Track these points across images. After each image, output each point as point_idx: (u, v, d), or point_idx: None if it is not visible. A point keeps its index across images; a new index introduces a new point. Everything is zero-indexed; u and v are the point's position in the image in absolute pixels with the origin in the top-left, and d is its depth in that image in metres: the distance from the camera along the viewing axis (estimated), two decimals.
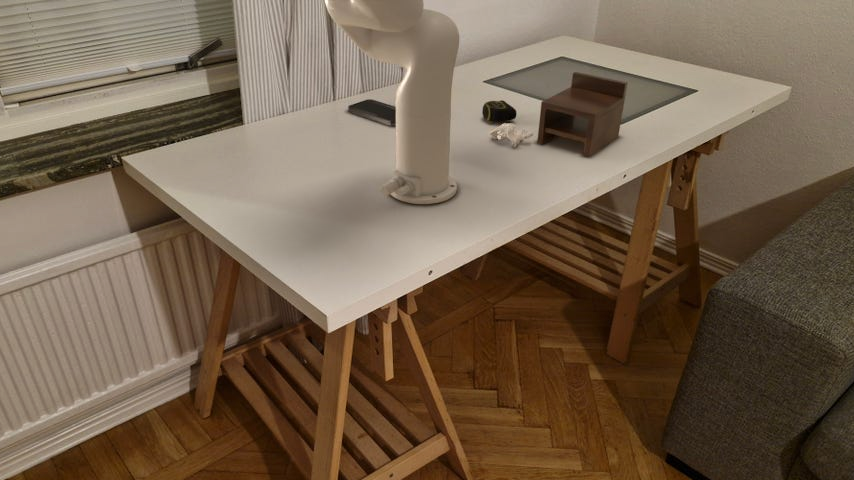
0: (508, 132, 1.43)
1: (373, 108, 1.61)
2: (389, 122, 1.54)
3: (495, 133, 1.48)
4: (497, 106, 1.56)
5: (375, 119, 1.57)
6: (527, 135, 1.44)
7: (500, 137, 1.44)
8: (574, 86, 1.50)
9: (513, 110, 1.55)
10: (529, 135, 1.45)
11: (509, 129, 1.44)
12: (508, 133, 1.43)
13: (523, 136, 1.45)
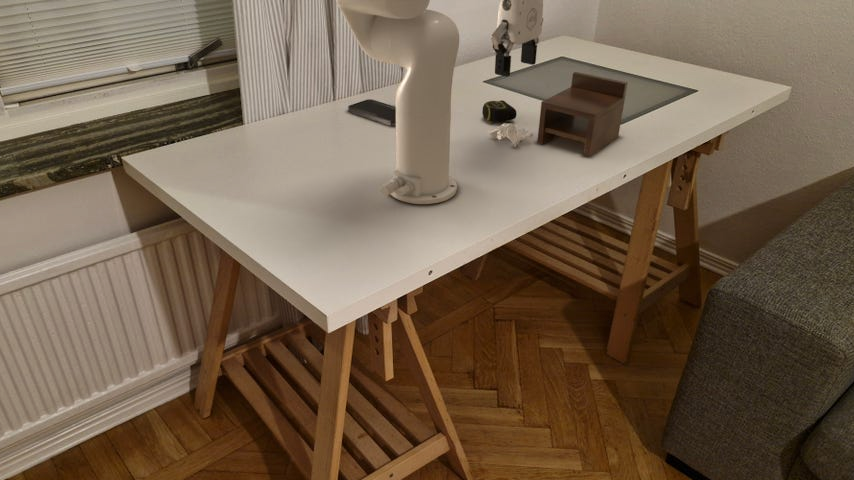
0: (508, 132, 1.43)
1: (373, 108, 1.61)
2: (389, 122, 1.54)
3: (495, 133, 1.48)
4: (497, 106, 1.56)
5: (375, 119, 1.57)
6: (527, 135, 1.44)
7: (500, 137, 1.44)
8: (574, 86, 1.50)
9: (513, 110, 1.55)
10: (529, 135, 1.45)
11: (509, 129, 1.44)
12: (508, 133, 1.43)
13: (523, 136, 1.45)
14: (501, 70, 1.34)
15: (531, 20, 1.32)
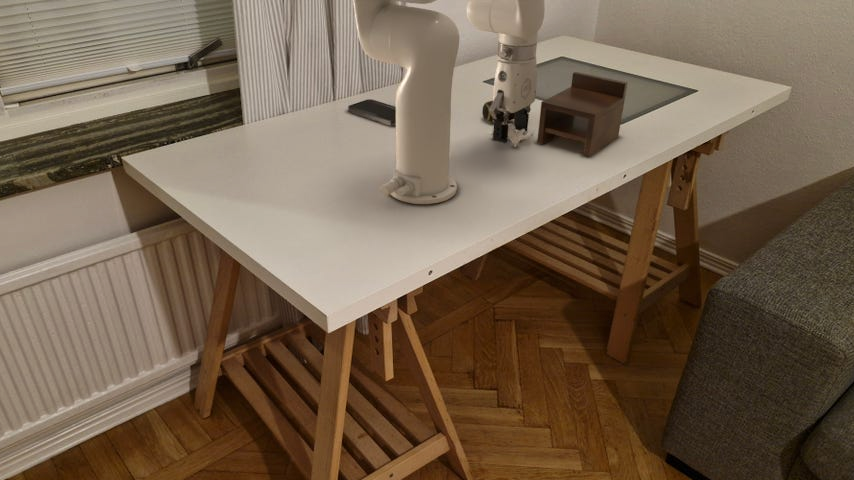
0: (508, 132, 1.43)
1: (373, 108, 1.61)
2: (389, 122, 1.54)
3: None
4: None
5: (375, 119, 1.57)
6: (527, 135, 1.44)
7: None
8: (574, 86, 1.50)
9: None
10: (529, 135, 1.44)
11: (509, 129, 1.44)
12: (508, 133, 1.43)
13: (523, 136, 1.45)
14: (499, 137, 1.43)
15: (525, 89, 1.40)
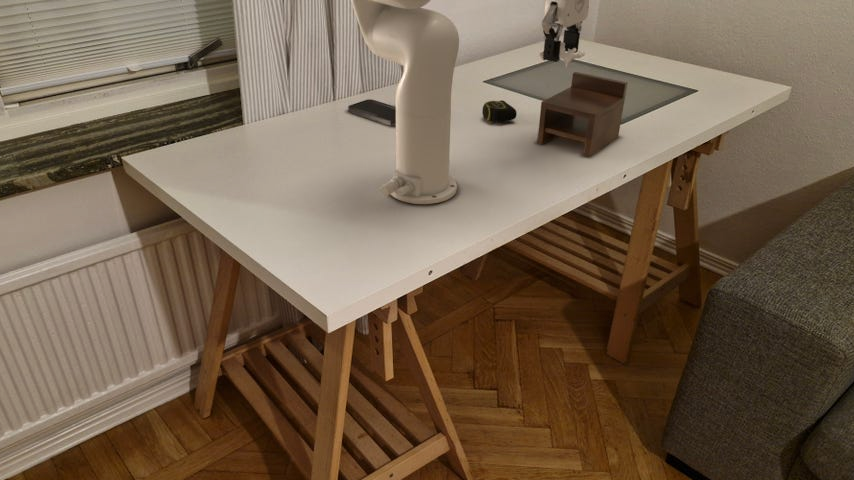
0: None
1: (373, 108, 1.61)
2: (389, 122, 1.54)
3: None
4: (497, 106, 1.56)
5: (375, 119, 1.57)
6: (579, 54, 1.36)
7: None
8: (574, 86, 1.50)
9: (513, 110, 1.55)
10: (581, 54, 1.36)
11: (560, 47, 1.35)
12: None
13: (575, 55, 1.37)
14: (550, 55, 1.34)
15: (579, 2, 1.31)
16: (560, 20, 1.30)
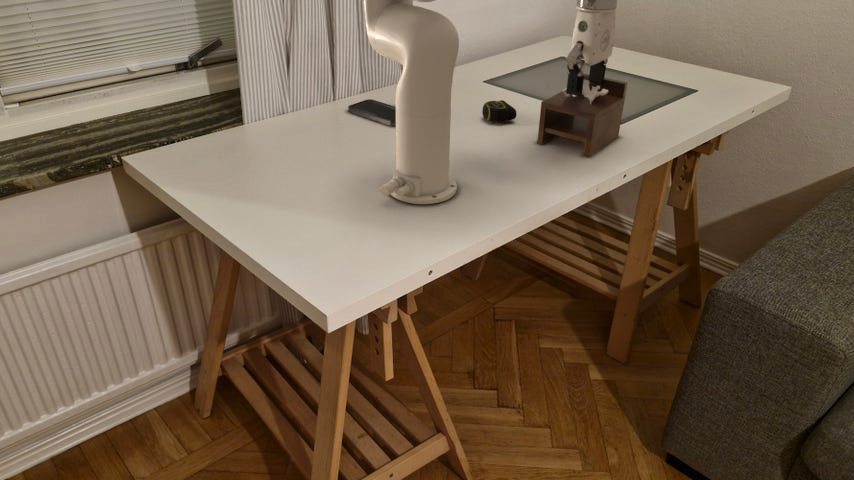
0: (584, 88, 1.39)
1: (373, 108, 1.61)
2: (389, 122, 1.54)
3: None
4: (497, 106, 1.56)
5: (375, 119, 1.57)
6: (603, 92, 1.40)
7: None
8: None
9: (513, 110, 1.55)
10: (605, 92, 1.40)
11: (585, 85, 1.39)
12: (584, 89, 1.39)
13: (598, 93, 1.41)
14: (573, 90, 1.37)
15: (604, 41, 1.35)
16: (586, 59, 1.34)
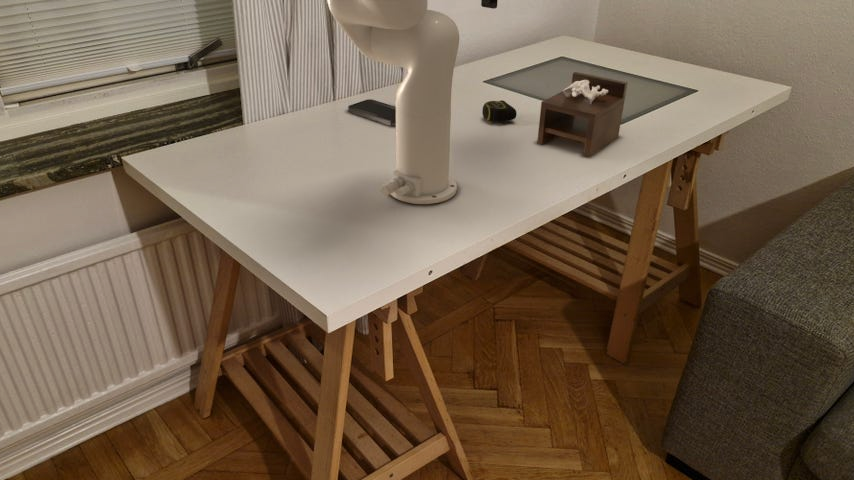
0: (584, 88, 1.39)
1: (373, 108, 1.61)
2: (389, 122, 1.54)
3: (568, 91, 1.43)
4: (497, 106, 1.56)
5: (375, 119, 1.57)
6: (603, 92, 1.40)
7: (575, 94, 1.40)
8: None
9: (513, 110, 1.55)
10: (605, 92, 1.40)
11: (585, 85, 1.39)
12: (584, 89, 1.39)
13: (598, 93, 1.41)
14: (488, 1, 1.26)
15: None
16: None
